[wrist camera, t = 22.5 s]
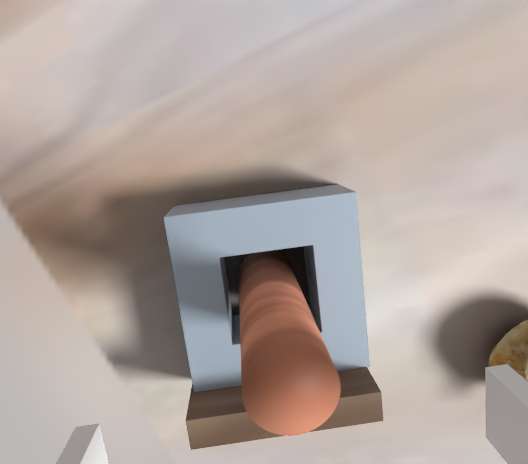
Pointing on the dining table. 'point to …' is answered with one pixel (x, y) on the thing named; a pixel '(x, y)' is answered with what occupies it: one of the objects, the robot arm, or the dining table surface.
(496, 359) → the onion
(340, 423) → the walnut wall
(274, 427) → the dowel
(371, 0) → the dining table surface
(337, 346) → the socket block
